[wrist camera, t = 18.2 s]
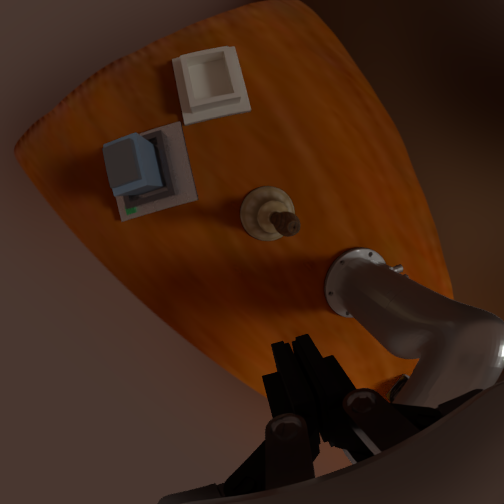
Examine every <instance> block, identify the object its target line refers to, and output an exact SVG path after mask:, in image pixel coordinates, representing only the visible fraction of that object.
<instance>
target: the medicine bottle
mask: <svg viewBox="0 0 504 504" xmlns="http://www.w3.org/2000/svg"><path fill="white" fill-rule="evenodd" d="M409 377H410V376H408V375H405V374H403V375H402V376H401V378H400V379H399V380H398V381H397V383H396V384H395V385H394V386H393V387H392V389H391V390H390V391H389V392H388V393H387V394H386V397H387V398H388V400H389V401H390V402H391V403H392V402H393V401H394V399H395V398H396V397H397V395H398V394H399V392H400V391H401V389H402V388H403V386H404V385H405V383H406V382H407V380H408V379H409Z"/></svg>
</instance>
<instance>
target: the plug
mask: <svg viewBox="0 0 504 504" xmlns="http://www.w3.org/2000/svg"><path fill="white" fill-rule="evenodd" d="M103 147H104V148H102V150H103V155H104V161H105V166H106V170H107V175H108V180H109V184H110V188H112V190H113V194H114V196H128V195H142V194H145V193H148V192H151V191H154V190H157V189H161V188H164V187H167V186H166V182H165V177H164V173H163V169H162V165H161V161H160V156H159V152H158V147H156V146H155V145H153V144H152V143H150V142H149V141H148V140H146V139H145V138H143V137H142V136H140V135H139V134H138V133H136V132H135V133H133V134H130V135H127V136H125V137H122V138H119V139H117V140H114V141H112V142H109V143H107V144H104V145H103Z"/></svg>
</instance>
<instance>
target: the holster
mask: <svg viewBox="0 0 504 504" xmlns="http://www.w3.org/2000/svg"><path fill="white" fill-rule="evenodd" d="M172 63H173V68H174V74H175V79H176V84H177V89H178V95H179V100H180V105H181V109H182V114H183V119H184V124H185V126H186V125H190V124H194V123H198V122H202V121H206V120H211V119H215V118H220V117H224V116H229V115H234V114H239V113H245V112H250V111H251V107H250V103H249V99H248V95H247V91H246V87H245V84H244V80H243V76H242V72H241V68H240V65H239V61H238V57H237V54H236V50H235V47H228V46H224V47H219V48H213V49H208V50H203V51H198V52H194V53H189V54H185V55H181V56H180V57H179V58H175V59H172Z"/></svg>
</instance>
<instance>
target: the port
mask: <svg viewBox="0 0 504 504" xmlns="http://www.w3.org/2000/svg"><path fill="white" fill-rule="evenodd" d="M139 135H140V136H142V137H143V138H145V139H146V140H148V141H149V142H150V143H152V144H153V145H155V146H156V147H158V152H159V156H160V161H161V165H162V169H163V173H164V177H165V182H166V186H167V187H164V188H161V189H157V190H154V191H151V192H148V193H145V194H142V195H128V196H115V197H116V201H117V205H118V209H119V213H120V217H121V221H122V222H123V221H126V220H129V219H132V218H135V217H139V216H142V215H145V214H149V213H152V212H156V211H159V210H162V209H166V208H170V207H173V206H177V205H180V204H184V203H188V202H192V201H195V200H199V199H198V195H197V191H196V187H195V182H194V178H193V174H192V169H191V165H190V161H189V156H188V152H187V147H186V143H185V138H184V133H183V129H182V124H181V122H180V121H179V122H176V123H172V124H169V125H165V126H162V127H159V128H155V129H152V130H149V131H146V132H143V133H140V134H139Z"/></svg>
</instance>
